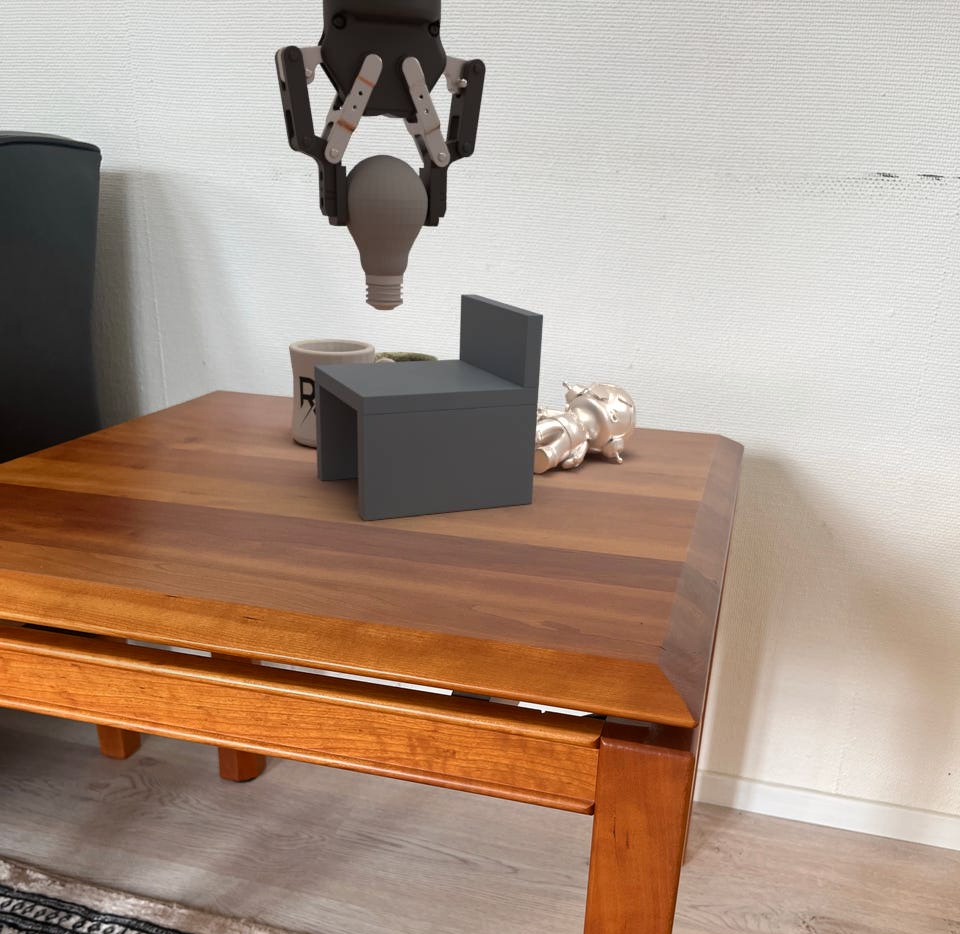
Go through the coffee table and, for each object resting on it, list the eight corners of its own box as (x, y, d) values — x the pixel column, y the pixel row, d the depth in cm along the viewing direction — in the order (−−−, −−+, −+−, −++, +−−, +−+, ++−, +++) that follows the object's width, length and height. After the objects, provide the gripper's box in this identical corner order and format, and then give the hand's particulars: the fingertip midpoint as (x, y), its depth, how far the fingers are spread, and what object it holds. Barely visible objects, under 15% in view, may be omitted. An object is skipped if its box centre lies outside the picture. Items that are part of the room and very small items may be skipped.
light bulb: (421, 304, 76) (423, 156, 72) (430, 316, 71) (433, 156, 66) (340, 303, 75) (337, 153, 71) (343, 315, 70) (340, 153, 65)
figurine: (514, 389, 99) (614, 346, 107) (482, 430, 105) (579, 386, 113) (576, 478, 98) (672, 427, 106) (540, 514, 104) (634, 463, 112)
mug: (279, 447, 107) (275, 349, 103) (306, 427, 115) (303, 336, 111) (394, 456, 106) (395, 357, 101) (413, 435, 114) (414, 343, 109)
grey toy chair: (363, 521, 86) (361, 319, 79) (317, 476, 98) (311, 296, 91) (531, 503, 93) (543, 315, 86) (469, 463, 104) (475, 294, 97)
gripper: (465, -45, 69) (459, 223, 76) (252, -69, 64) (268, 221, 71) (512, -63, 63) (500, 230, 70) (281, -92, 57) (295, 229, 65)
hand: (383, 224), depth 70 cm, fingers closed on light bulb, 6 cm apart
